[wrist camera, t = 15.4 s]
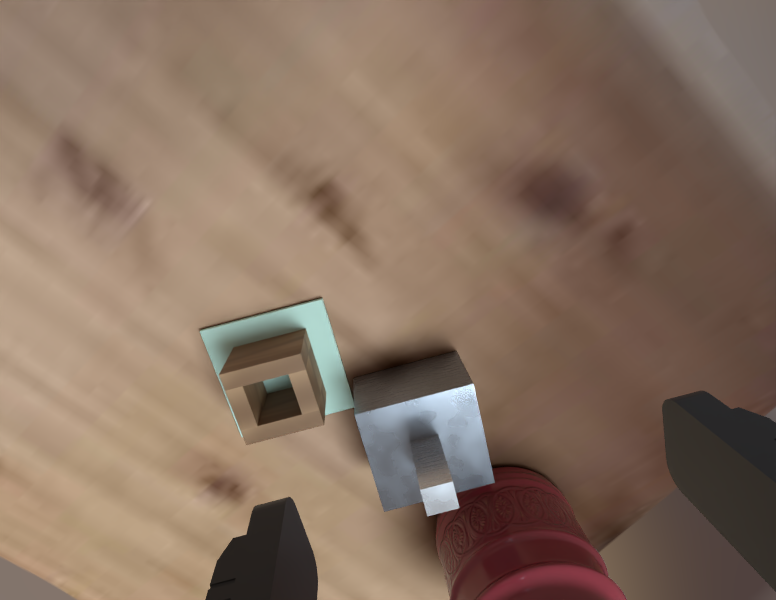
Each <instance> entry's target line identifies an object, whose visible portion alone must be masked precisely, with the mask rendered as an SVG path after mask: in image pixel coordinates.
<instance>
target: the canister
mask: <svg viewBox="0 0 776 600" xmlns="http://www.w3.org/2000/svg"><path fill="white" fill-rule="evenodd" d="M492 472H493V476H494V481H495V483H492V484H488V485H485V486H481V487H477V488H473V489H469V490H465V491H462V492H458V493H456V496H457V500H458V504H459V508H458V509H454V510H450V511H446V512H443V513H439V514H438V517H437V522H436V547H437V552H438V557H439V560H440V562H441V565H442V567H443V570H444V574H445V578H446V583H447V587H448V592H449V596H450V600H627V599H626V597H625V595H624V593H623V592H622V590H621V589H620V587H619V586H618V585H617V584H616V583H615V582H614V581H613V580H612V579H610V578H609V577H608V572H607V568H606V565H605V562H604V560H603V558H602V557H601V555H600V554H599V552H598V551H597V550H596V549H595V548H594V547H593V546H592V545H591V543H590V542H589V540H588V538H587V537H586V535H585V533H584V532H583V530H582V528H581V527H580V525H579V523H578V522H577V520H576V518H575V515H574V513H573V510H572V508H571V506H570V504H569V503H568V502H567V500H566V498H565V497H564V495H563V494H562V493H561V492H560V491H559V490H558V489H557V488H556V487H555V486H554V485H553V484H552V483H551V482H550V481H549V480H548V479H546V478H545V477H543V476H542V475H540V474H538V473H536V472H534V471H531V470H528V469H524V468H518V467H500V468H493V469H492Z"/></svg>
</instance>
